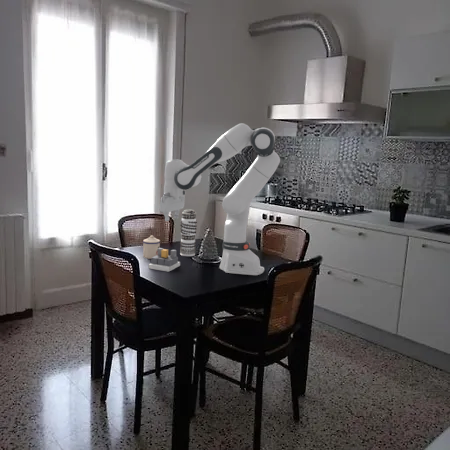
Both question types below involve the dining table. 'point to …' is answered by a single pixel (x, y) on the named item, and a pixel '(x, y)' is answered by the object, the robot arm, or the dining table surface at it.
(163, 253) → the breaker handle
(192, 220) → the decorative candle
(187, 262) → the dining table surface
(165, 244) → the dining table surface
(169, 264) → the slab with raised knobs
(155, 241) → the teacup with lid
